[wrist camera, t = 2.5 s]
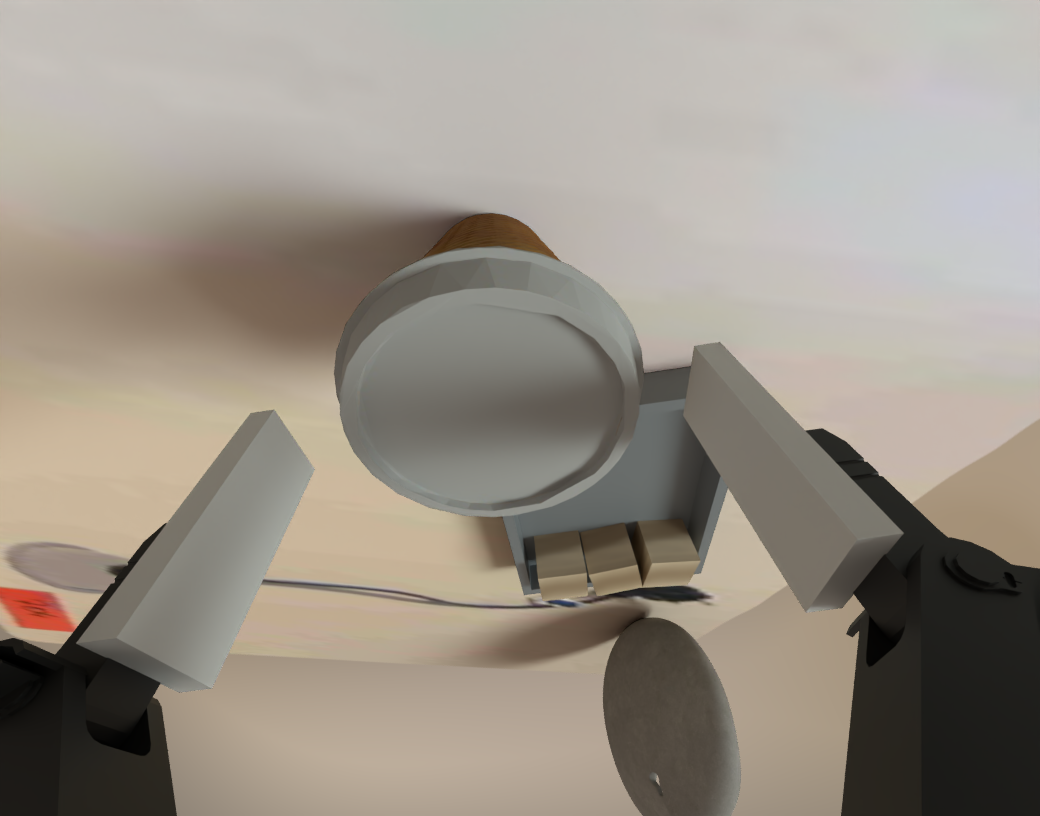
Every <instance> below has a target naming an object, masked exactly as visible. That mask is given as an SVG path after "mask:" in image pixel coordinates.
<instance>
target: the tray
mask: <svg viewBox="0 0 1040 816" xmlns="http://www.w3.org/2000/svg"><path fill="white" fill-rule="evenodd" d="M690 370H691V367H686V368H679V369H672V370H665V371H658V372H651V373H644V381H643V387H642V393H641V399H640V403H639V416H638V420H637V423H636V427H635V431H634V434H633V438H632V440H631V442H630V443H629V445H628V447H627V448H626V450H625V451H624V453H623V455H622V456H621V458H620V459H619V461H618V462H617V463H616V464H615V465H614V466H613V468H612V469H611V470H610V471H609V472H608V473H607V474H606V475H605V476H603V477H602V478H601V479H600V480H599V481H598V482H596V483H595V484H594V485H593V486H591V487H589V488H588V489H586V490H585V491H583V492H581V493H580V494H578V495H577V496H575V497H573V498H570V499H568V500H566V501H564V502H561V503H559V504H557V505H554V506H552V507H548V508H544V509H539V510H535V511H531V512H527V513H523V514H519V515H512V516H502V517H503V521H504V524H505V528H506V532H507V535H508V539H509V542H510V546H511V550H512V553H513V557H514V560H515V564H516V568H517V571H518V575H519V578H520V582H521V586H522V589H523V593H524V595H528V594H536V593H541V590H540V586H539V581H538V573H537V563H536V553H535V542H534V536H538V535H545V534H553V533H561V532H569V531H577V530H578V532H579V537H580V542H581V547H582V552H583V557H584V562H585V567H586V572H587V587H593V584H592V582H591V579H590V577H589V574H588V569H587V564H586V559H585V554H584V549H583V544H582V539H581V534H580V532H584V531H588V530H593V529H597V528H601V527H606V526H610V525H615V524H619V523H625V526H626V530H627V533H628V536H629V539H630V543H631V541H632V537H633V534H634V531H635V528H636V525H637V522H638V521H648V520H668V519H682V520H683V522H684V524H685V527H686V529H687V531H688V533H689V536H690V538H691V540H692V542H693V544H694V547H695V549H696V551H697V553H698V556H699V558H700V560H701V561H700V563H699V565H698V567H697V568H696V570H695V572H694V574H699V573H701V571H702V568H703V565H704V562H705V559H706V556H707V552H708V549H709V546H710V543H711V540H712V537H713V533H714V530H715V527H716V524H717V521H718V518H719V514H720V511H721V508H722V505H723V502H724V499H725V495H726V492H727V489H728V487H727V485H726V484H725V482H724V480H723V479H722V477H721V476H720V474H719V472H718V471H717V469H716V467H715V466H714V464H713V463H712V461H711V459H710V458H709V456H708V455H707V453H706V451H705V450H704V448H703V447H702V445H701V443H700V442H699V440H698V439H697V437H696V435H695V434H694V432H693V430H692V429H691V427H690V426H689V424H688V422H687V421H686V419H685V418H684V416H683V413H684V407H685V401H686V395H687V389H688V382H689V376H690Z"/></svg>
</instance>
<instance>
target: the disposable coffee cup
mask: <svg viewBox="0 0 1040 816" xmlns="http://www.w3.org/2000/svg"><path fill="white" fill-rule="evenodd" d="M334 376H335V384H336V393H337V397H338V400H339V403H340V416H341V420H342V424H343V429H344V432H345V434H346V436H347V439H348V441H349V443H350V445H351V447H352V449H353V451H354V453H355V454H356V455H357V457H358V458H359V459H360V460H361V462H362V463H363V464H364V465H365V466H366V468H367V469H368V470H369V471H370V472H371V474H372V475H373V476H375V477H376V478H378V479H379V480H380V481H382V482H383V483H384V484H386V485H387V486H388V487H390V488H391V489H392V490H394V491H395V492H396V493H398V494H400V495H402V496H404V497H406V498H409V499H411V500H413V501H415V502H418V503H420V504H422V505H424V506H427V507H429V508H432V509H437V510H441V511H446V512H450V513H455V514H459V515H464V516H482V517H499V516H512V515H519V514H523V513H527V512H531V511H535V510H539V509H544V508H548V507H552V506H554V505H557V504H559V503H561V502H564V501H566V500H568V499H570V498H573V497H575V496H577V495H578V494H580V493H581V492H583V491H585V490H586V489H588V488H589V487H591V486H593V485H594V484H595V483H596V482H598V481H599V480H600V479H601V478H602V477H603V476H605V475H606V474H607V473H608V472H609V471H610V470H611V469H612V468H613V466H614V465H615V464H616V463H617V462H618V461H619V459H620V458H621V456H622V455H623V453H624V451H625V450H626V448H627V447H628V445H629V443H630V442H631V440H632V438H633V434H634V431H635V427H636V423H637V420H638V416H639V403H640V399H641V393H642V387H643V381H644V371H643V361H642V352H641V347H640V345H639V342H638V339H637V337H636V334H635V331H634V329H633V326H632V324H631V322H630V321H629V319H628V318H627V316H626V314H625V313H624V311H623V310H622V309H621V307H620V306H619V305H618V303H617V302H616V301H615V300H614V299H613V298H612V297H611V296H610V295H609V294H608V293H607V292H606V291H605V290H604V289H603V288H602V287H601V286H600V285H599V284H598V283H597V282H595V281H594V280H592V279H591V278H589V277H588V276H586V275H584V274H583V273H581V272H580V271H578V270H577V269H575V268H574V267H572V266H570V265H568V264H566V263H563V262H561V261H560V260H559V259H558V258H557V257H556V256H555V255H554V253H553V252H552V251H551V250H550V249H549V248H548V247H547V246H546V245H545V244H544V243H543V242H542V241H541V240H540V238H539V237H538V236H537V235H536V234H535V233H534V232H533V231H532V230H531V229H530V228H529V227H528V226H527V225H525V224H523V223H522V222H520V221H519V220H517V219H514V218H511V217H509V216H506V215H500V214H493V213H491V214H482V215H475V216H472V217H469V218H466V219H465V220H463V221H461V222H459V223H458V224H456V225H454V226H453V227H452V228H451V229H450V230H449V231H448V232H447V233H446V234H445V235H444V236H443V237H442V238H441V240H440V241H439V242H438V243H437V244H436V245H435V246H434V247H433V248H432V249H431V250H430V251H429V252H428V253H427V254H426V255H425V256H424V257H423V258H422V259H421V260H419V261H417V262H415V263H413V264H411V265H409V266H407V267H404V268H402V269H400V270H398V271H396V272H394V273H393V274H392V275H390V276H389V277H388V278H386V279H385V280H384V281H383V282H381V283H380V284H379V285H378V286H377V287H376V288H375V289H373V290H372V291H371V292H370V293H369V294H368V295H367V296H366V297H365V298H364V299H363V301H362V302H361V303H360V304H359V306H358V307H357V309H356V310H355V312H354V313H353V315H352V316H351V318H350V319H349V321H348V322H347V323H346V326H345V328H344V331H343V334H342V337H341V340H340V343H339V346H338V348H337V351H336V360H335V370H334Z"/></svg>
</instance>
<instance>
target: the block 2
mask: <svg viewBox="0 0 1040 816" xmlns="http://www.w3.org/2000/svg"><path fill="white" fill-rule="evenodd" d="M580 534H581V539H582V544H583V549H584V554H585V559H586V564H587V569H588V574H589V577H590V579H591V582H592V584H593V586H594V589H595V591H596V594H597V596H601V595H606V594H611V593H616V592H621V591H626V590H631V589H636V588H641V587H643V586H642V582H641V578H640V574H639V570H638V565H637V562H636V559H635V556H634V552H633V549H632V546H631V543H630V539H629V536H628V533H627V530H626V526H625V523H619V524H615V525H610V526H606V527H601V528H597V529H593V530H588V531H584V532H580Z"/></svg>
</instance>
